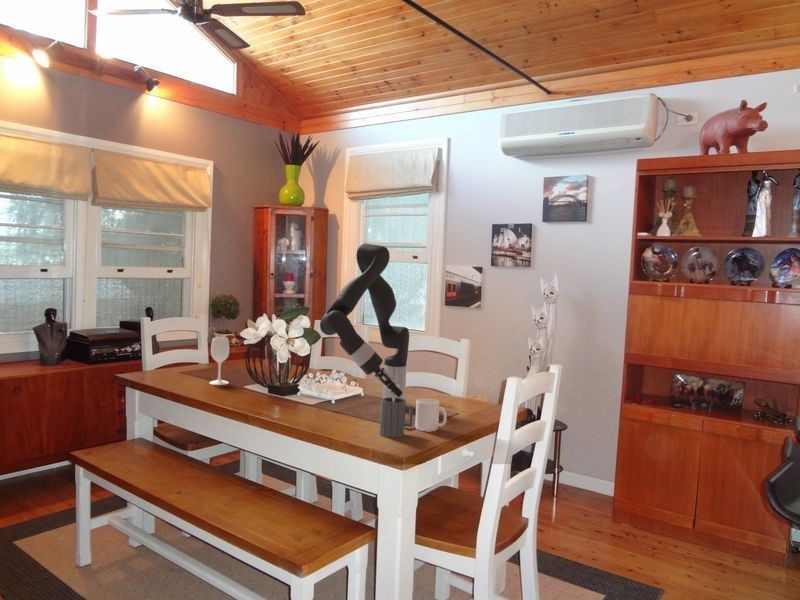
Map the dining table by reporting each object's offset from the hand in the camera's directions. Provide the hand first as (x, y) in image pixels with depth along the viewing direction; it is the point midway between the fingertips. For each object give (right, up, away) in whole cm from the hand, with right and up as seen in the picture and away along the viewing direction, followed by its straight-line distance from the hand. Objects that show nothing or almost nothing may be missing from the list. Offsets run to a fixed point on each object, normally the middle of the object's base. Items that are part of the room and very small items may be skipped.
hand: (399, 393), depth 202 cm
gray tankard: (-1, -14, +1) cm, 14 cm away
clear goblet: (-2, -8, 0) cm, 9 cm away
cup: (+11, -15, +9) cm, 20 cm away
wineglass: (-83, -7, +69) cm, 109 cm away
